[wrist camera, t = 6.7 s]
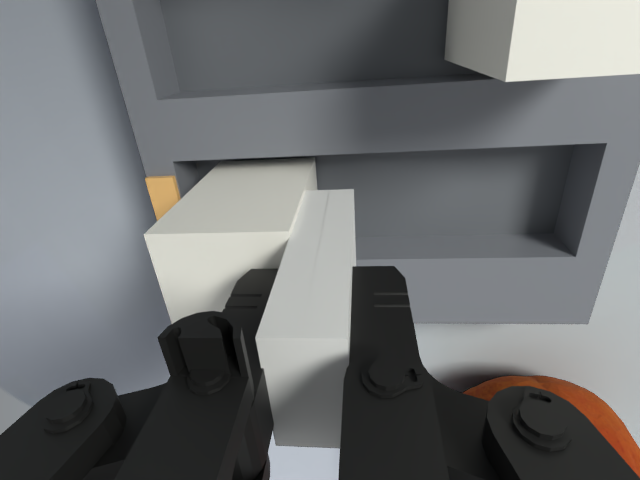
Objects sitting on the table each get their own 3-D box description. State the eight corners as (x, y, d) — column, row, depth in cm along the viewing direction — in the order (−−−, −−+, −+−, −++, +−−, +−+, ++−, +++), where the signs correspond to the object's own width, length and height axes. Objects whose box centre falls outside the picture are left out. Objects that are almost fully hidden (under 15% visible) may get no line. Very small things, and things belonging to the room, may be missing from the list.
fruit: (578, 319, 19) (712, 496, 12) (602, 435, 22) (715, 625, 15) (399, 364, 21) (419, 533, 14) (446, 463, 24) (481, 637, 17)
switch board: (24, -503, 9) (-125, -740, 6) (801, -700, 7) (1073, -1149, 5) (211, 282, 19) (186, 324, 17) (553, 280, 18) (590, 327, 15)
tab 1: (220, 161, 15) (143, 234, 10) (315, 157, 14) (289, 231, 9) (234, 232, 16) (173, 329, 11) (320, 230, 16) (301, 330, 11)
